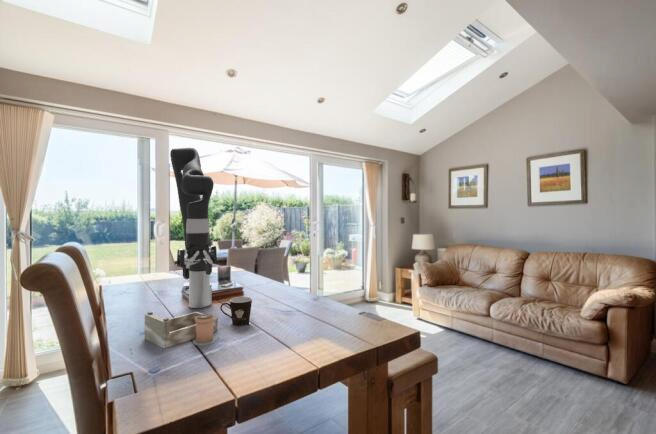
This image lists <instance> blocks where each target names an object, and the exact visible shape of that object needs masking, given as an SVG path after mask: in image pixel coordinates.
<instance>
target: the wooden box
mask: <svg viewBox="0 0 656 434" xmlns="http://www.w3.org/2000/svg"><path fill="white" fill-rule="evenodd" d="M202 314H203V313H201V312H199V311H193V312H191V313H187V314H186V313H185V314H183V315H179V316H175V317H171V318H169V317H165V318H163V317H161V316H160V315H156V314H155V313H154V312H152V311H148V312H147V313H146V314H144V340H147V341H148V342H150V343H152V344H154V345H156V346H158V347H160V348H163V349H165V348H167V349H168V348H170V347H173V346H176V345H179V344H182V343H185V342H187V341H190V340H191V341H192V340H194V339H195V338H196V322H195V317H196V316H199V315H202ZM218 322H219V320H218V318H216V317H214V321H213V333H214V332H217V331H218Z"/></svg>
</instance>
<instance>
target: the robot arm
mask: <svg viewBox="0 0 656 434" xmlns="http://www.w3.org/2000/svg"><path fill="white" fill-rule="evenodd" d="M169 155H170V162H171V166H172V170H173V174H174V178H175V183H176V188H177V195H178V197H177V198H178V203H179V210H180V213H181V218H182V224H183V225H182V226H183V232H184V233H183V235H184V246H185V249H183V248H179V249H177V254H176V266H177V267H179V268H182V277H183V278H184V279H185V280H188V282H189V284H188V285H189V286H188V307H189V308H191V309H202V308H206V307H210V306H211V305H212V303H213V301H212V295H213V294H212V293H213V291H212V290H213V289H212V288H213V287H212V284H211V275H212V272H213V264H214V263H217V261H218V256H217V255H218V254H217V246H215V245H212V240H211V238H210V222H209V204H210V199H211V196H212V192H213V190H214V184H215V183H214V181H213V178H212V177H211V176H209V175H205V174H204V172H203V169H202V165H201V159H200V155H199V153H198V150H197V149H196V148H194V147H181V148H178V147H177V148H172V149H171V150H170V154H169ZM201 196H202V197H201ZM185 256H186V257H185ZM194 261H196V262H194Z"/></svg>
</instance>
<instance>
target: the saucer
mask: <svg viewBox="0 0 656 434" xmlns="http://www.w3.org/2000/svg"><path fill="white" fill-rule="evenodd" d="M219 339H220V338H219V336H218V335H215V334H213V340H212V341H211V342H208V343H197V342H196V338H194V339H192V344H193V345H194V346H210V345H213V344H216V343H217V342H218V341H219Z"/></svg>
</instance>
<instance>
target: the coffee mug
mask: <svg viewBox="0 0 656 434" xmlns="http://www.w3.org/2000/svg"><path fill="white" fill-rule="evenodd" d="M252 304H253V298H252V297H250V296H236V297H232V298H231V299H230V300H229V303H228V302H224V303H222V304H221V305H220V311H221V312H222V313H223V314H224V315H225V316H226V317H228V318H230V319H231V323H232V325H233V326H235V327H241V326H242V327H243V326H249V325H250V318H251V312H252ZM224 305H227V306H228V307H229V308H230V314H229V313H226V312H225V311H224V310H223V306H224Z"/></svg>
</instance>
